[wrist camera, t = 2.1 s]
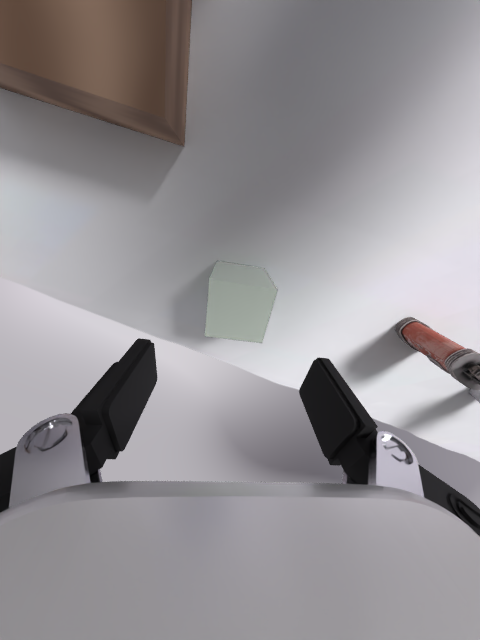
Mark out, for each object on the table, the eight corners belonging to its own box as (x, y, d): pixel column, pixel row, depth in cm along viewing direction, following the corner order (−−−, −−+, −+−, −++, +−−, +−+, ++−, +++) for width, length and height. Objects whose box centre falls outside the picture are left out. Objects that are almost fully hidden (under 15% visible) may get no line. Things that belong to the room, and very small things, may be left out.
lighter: (389, 329, 25) (472, 388, 16) (412, 312, 23) (517, 366, 15) (416, 353, 27) (501, 415, 18) (438, 338, 26) (541, 398, 17)
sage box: (264, 268, 20) (277, 289, 14) (254, 310, 23) (261, 343, 16) (217, 260, 19) (209, 278, 13) (212, 304, 22) (204, 336, 16)
